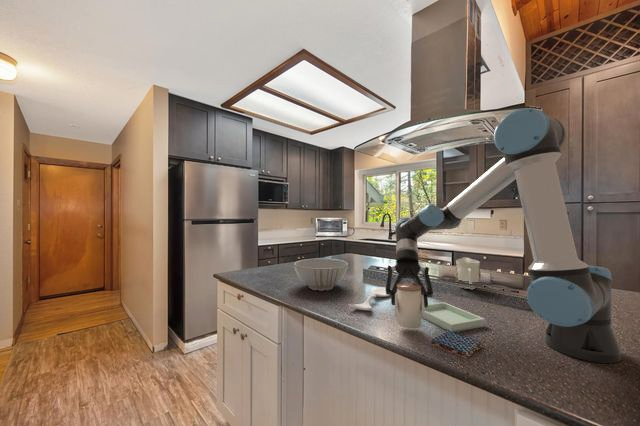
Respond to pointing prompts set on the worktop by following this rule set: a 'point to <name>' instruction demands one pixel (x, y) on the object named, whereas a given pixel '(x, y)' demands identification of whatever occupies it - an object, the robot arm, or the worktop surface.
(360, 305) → the spoon
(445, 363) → the worktop surface
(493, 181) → the robot arm
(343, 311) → the worktop surface
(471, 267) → the pitcher
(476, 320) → the tray
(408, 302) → the canister
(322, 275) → the decorative bowl
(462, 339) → the woven mat
